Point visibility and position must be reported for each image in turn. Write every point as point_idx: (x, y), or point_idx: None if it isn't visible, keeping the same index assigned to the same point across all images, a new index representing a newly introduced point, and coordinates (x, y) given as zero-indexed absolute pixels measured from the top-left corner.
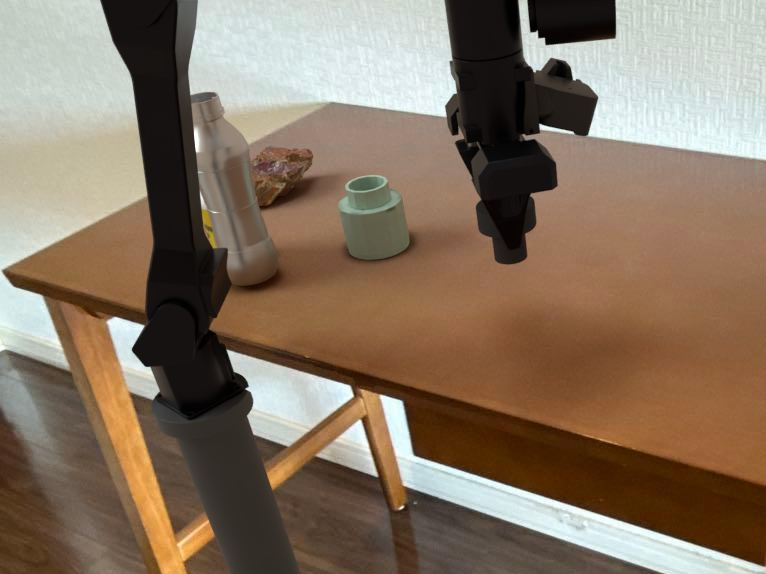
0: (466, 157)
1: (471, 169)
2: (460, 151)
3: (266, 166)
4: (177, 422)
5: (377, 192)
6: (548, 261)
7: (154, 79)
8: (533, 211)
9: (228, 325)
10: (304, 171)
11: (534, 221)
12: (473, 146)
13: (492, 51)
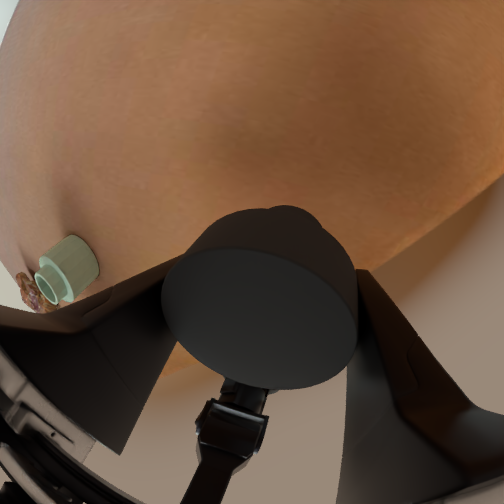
0: (121, 437)
1: (136, 410)
2: (118, 454)
3: (35, 305)
4: (277, 391)
5: (52, 284)
6: (109, 109)
7: None
8: (318, 257)
9: (183, 363)
10: (28, 280)
11: (321, 236)
12: (90, 439)
13: None
